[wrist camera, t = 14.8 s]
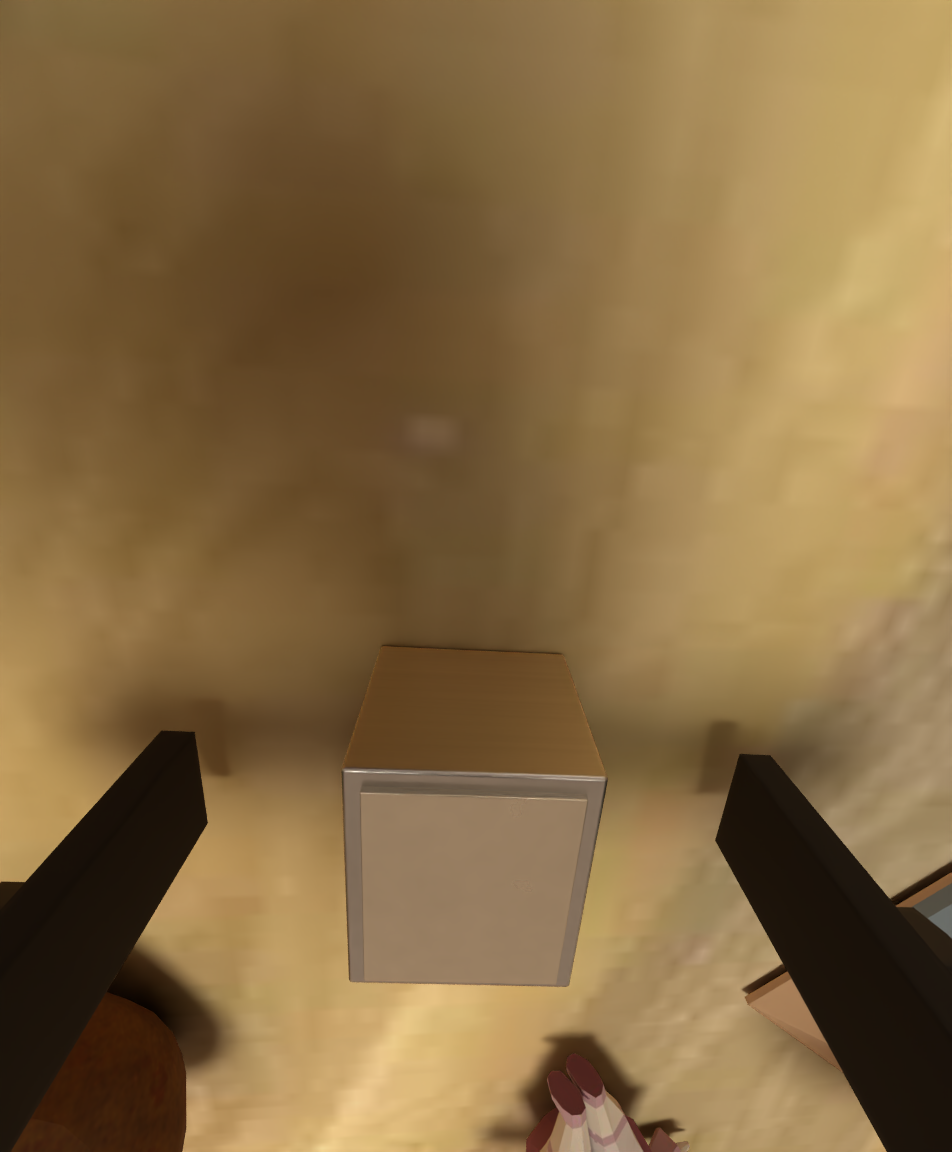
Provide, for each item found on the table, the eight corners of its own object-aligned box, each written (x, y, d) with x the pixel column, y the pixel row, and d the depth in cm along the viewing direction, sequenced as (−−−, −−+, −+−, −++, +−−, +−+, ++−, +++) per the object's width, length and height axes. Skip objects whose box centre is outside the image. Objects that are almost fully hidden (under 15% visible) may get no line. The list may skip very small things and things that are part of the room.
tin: (380, 644, 13) (337, 775, 9) (564, 653, 13) (611, 784, 9) (380, 816, 15) (346, 992, 10) (541, 821, 15) (571, 997, 11)
